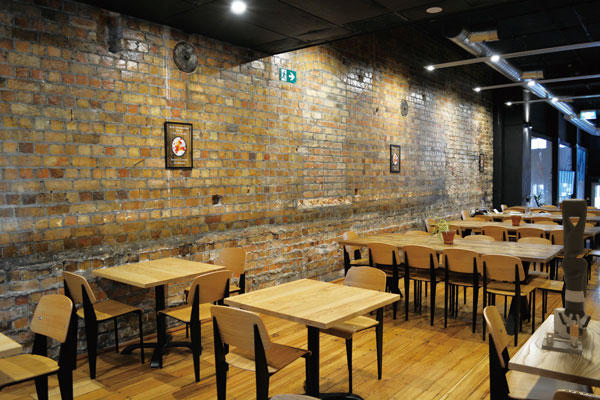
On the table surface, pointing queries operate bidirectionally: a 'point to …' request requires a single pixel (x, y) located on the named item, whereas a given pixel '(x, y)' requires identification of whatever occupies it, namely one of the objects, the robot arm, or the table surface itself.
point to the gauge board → (560, 344)
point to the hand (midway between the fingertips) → (574, 334)
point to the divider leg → (574, 335)
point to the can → (563, 328)
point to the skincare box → (557, 318)
